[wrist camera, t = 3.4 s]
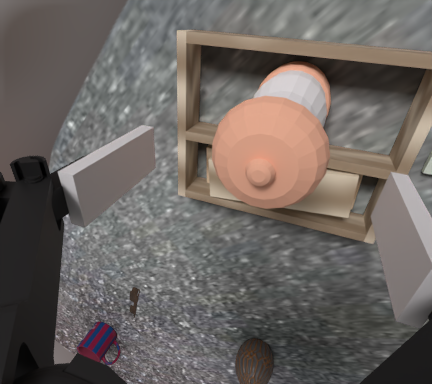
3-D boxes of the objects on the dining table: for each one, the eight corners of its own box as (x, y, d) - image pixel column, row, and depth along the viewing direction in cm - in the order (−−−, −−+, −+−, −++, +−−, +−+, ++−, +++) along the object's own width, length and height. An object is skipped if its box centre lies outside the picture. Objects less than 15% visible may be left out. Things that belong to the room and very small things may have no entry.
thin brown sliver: (136, 317, 66) (135, 318, 66) (126, 311, 66) (125, 313, 66) (143, 288, 59) (142, 289, 59) (132, 282, 59) (131, 283, 59)
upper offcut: (215, 151, 35) (208, 159, 33) (356, 166, 30) (359, 177, 28) (216, 186, 37) (210, 196, 35) (347, 205, 32) (348, 218, 30)
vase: (279, 358, 55) (272, 408, 48) (246, 353, 58) (234, 399, 51) (271, 335, 52) (262, 384, 45) (237, 331, 55) (223, 377, 48)
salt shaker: (273, 138, 33) (225, 239, 18) (251, 78, 31) (172, 135, 15) (338, 117, 30) (349, 220, 14) (319, 47, 27) (306, 80, 12)
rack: (193, 29, 30) (176, 30, 27) (447, 53, 24) (465, 57, 21) (190, 181, 40) (178, 194, 37) (368, 223, 35) (373, 244, 31)
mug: (99, 318, 72) (80, 342, 66) (130, 340, 72) (114, 367, 67) (92, 326, 76) (73, 350, 70) (122, 348, 76) (106, 373, 71)
